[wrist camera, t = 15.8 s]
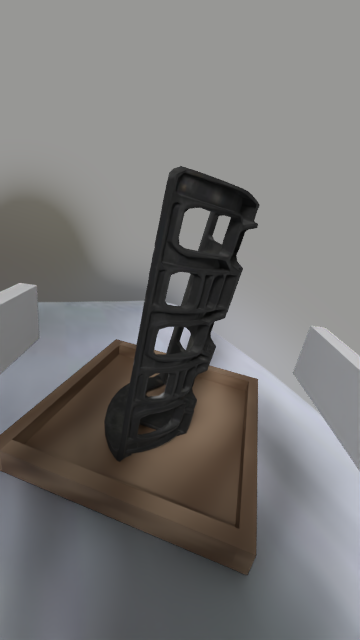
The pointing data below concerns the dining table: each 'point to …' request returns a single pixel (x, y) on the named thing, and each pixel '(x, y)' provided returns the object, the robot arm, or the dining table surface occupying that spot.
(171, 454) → the tray
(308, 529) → the dining table surface
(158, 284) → the holder
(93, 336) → the dining table surface
